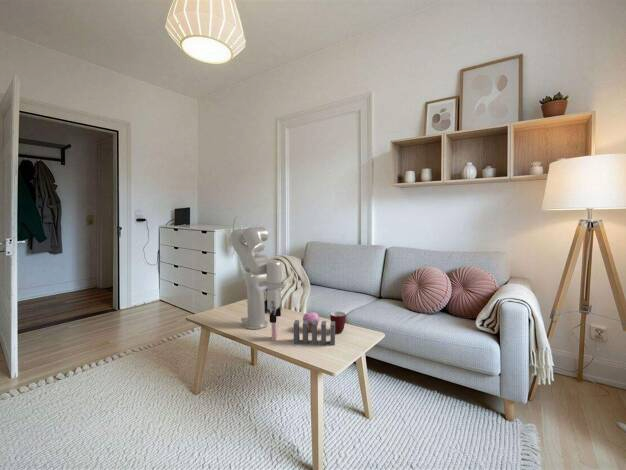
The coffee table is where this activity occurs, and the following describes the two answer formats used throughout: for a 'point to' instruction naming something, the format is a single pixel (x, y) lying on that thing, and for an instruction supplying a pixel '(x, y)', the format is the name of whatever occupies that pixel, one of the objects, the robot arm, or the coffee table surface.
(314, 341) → the domino
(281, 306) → the crystal cluster
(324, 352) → the coffee table surface
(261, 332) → the coffee table surface
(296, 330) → the domino
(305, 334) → the domino
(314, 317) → the cupcake
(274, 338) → the rose domino
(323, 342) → the domino
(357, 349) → the coffee table surface
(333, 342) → the domino
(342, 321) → the mug
